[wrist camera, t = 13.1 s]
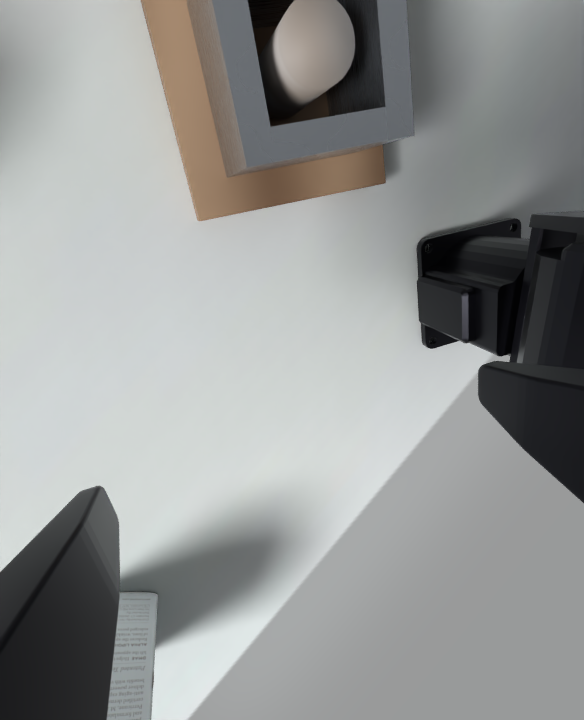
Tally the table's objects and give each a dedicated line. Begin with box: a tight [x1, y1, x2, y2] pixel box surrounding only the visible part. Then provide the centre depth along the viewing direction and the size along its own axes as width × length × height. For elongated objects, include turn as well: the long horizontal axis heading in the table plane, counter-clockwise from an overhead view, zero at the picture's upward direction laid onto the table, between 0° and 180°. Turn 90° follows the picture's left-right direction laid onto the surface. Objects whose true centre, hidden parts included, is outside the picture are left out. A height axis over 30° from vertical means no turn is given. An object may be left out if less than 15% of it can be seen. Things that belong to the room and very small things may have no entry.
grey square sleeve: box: [187, 0, 414, 178], centre depth 15 cm, size 6×6×5 cm
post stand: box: [141, 0, 386, 221], centre depth 15 cm, size 9×9×6 cm
